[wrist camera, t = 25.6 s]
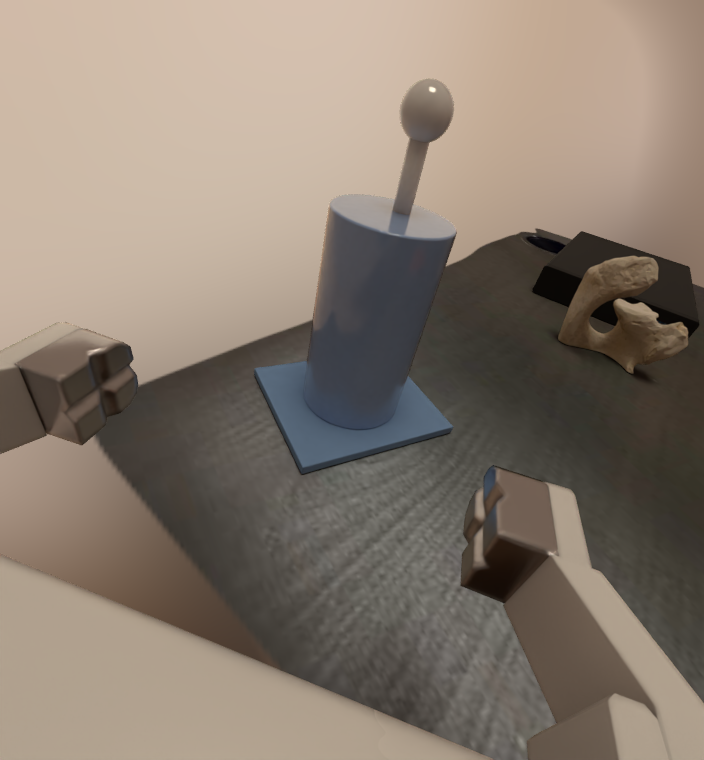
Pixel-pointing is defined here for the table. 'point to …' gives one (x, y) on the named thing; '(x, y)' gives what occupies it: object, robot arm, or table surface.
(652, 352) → the bone
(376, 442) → the blue mat
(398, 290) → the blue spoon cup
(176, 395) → the table surface
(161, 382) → the table surface
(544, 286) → the external hard drive
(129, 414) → the table surface
